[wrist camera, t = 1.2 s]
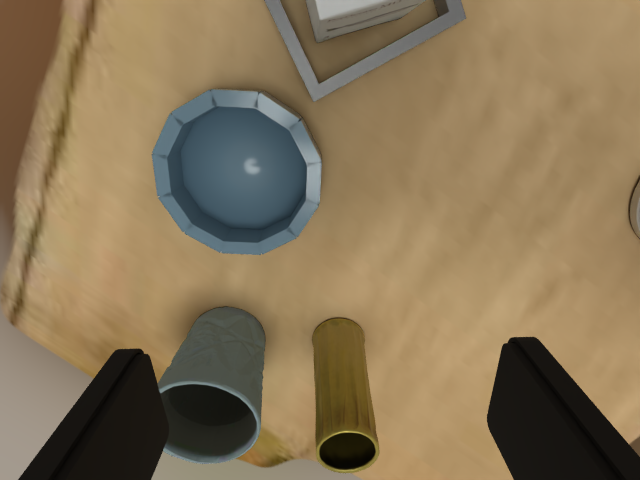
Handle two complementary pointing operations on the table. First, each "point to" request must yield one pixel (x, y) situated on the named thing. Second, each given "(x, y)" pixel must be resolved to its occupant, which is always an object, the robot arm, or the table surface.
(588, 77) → the table surface
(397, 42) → the gray square frame
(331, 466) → the vase
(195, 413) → the blue-grey cup
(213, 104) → the bowl
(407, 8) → the supplement box
